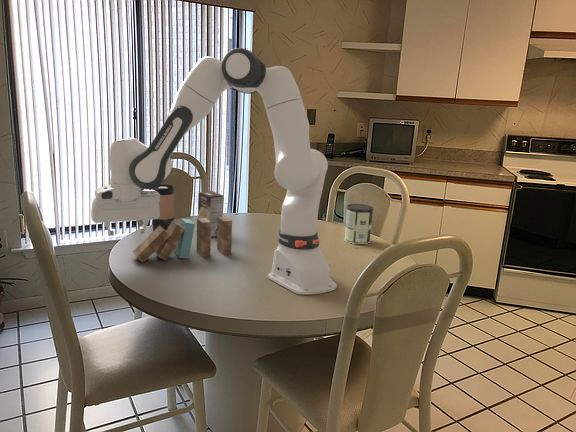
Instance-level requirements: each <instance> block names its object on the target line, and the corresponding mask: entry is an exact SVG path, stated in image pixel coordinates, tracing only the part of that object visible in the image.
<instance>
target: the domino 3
mask: <svg viewBox="0 0 576 432" xmlns="http://www.w3.org/2000/svg"><path fill="white" fill-rule="evenodd" d="M211 239H212V237H211V222H210V221H209V220H208V219H206V218H198V217H197V218H196V253H197V254H198V255H199V256H200V257H201V258H205V257H211V247H212V246H211V243H212V242H211Z"/></svg>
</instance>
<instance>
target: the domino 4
mask: <svg viewBox="0 0 576 432" xmlns="http://www.w3.org/2000/svg"><path fill="white" fill-rule="evenodd" d="M232 232H233V220H232V219H230V218H229V217H228V216H224V215H223V217H218V235H217V236H216V237H217V239H216V240H217V243H216V244H217V246H216V249H217V251H218V252H219V253H220V254H222V256H224V255H225V256H226V255H232V239H233V238H232V237H233V233H232Z"/></svg>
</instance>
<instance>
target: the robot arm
mask: <svg viewBox="0 0 576 432" xmlns="http://www.w3.org/2000/svg"><path fill="white" fill-rule="evenodd" d="M228 89H230V90H233V91H236V92H239V93H242V94H254V93H255V94H256V93H258V94H259V95H260V96H261V99H262V102H263V105H264V109H265V112H266V115H267V119H268V122H269V126H270V129H271V132H272V137H273V143H274V144H273V146H274V154H275V155H274V156H275V166H274V169H273V170H274V178H275V181H276V182H277V184H278V185H279V186H280V187H282V188H283V189H285V190H286V194H285V197H284V200H283V202H282V204H281V213H280V214H281V215H280V229H279V230H278V234H277V235H278V236H277V237H278V239H277V240H278V245H277V248H276V249H275V250H274V251H273V252H274V253H273V259H272V265H271V266H272V267H271V272H269V273H268V274H267V279H269V280H271V281H272V282H275V283H276V284H278V285H280V286H281V287H284V288H285V289H288V290H289V291H291V292H292V293H294V294H296V295H297V294H298V295H319V294H325V293H328V292H332V291H334V290H336V289H338V285H337V283H336V282H335V281H334V280H333V279H332V278H331V277H330V276H331V274H330V273H331V271H330V268H331V264H330V261H329V260H326V259H325V256H324V254H323V253H322V251H321V249H320V243H321V242H320V241H321V239H320V238H319V235H318V231H317V229H318V217H319V208H320V201H321V198H322V193H323V188H324V185H325V184H324V183H325V178H326V173H327V171H328V167H329V164H328V160H327V157H326V156H325V154H323V152H321V151H319V150H317V149H314V148H311V142H310V122H309V119H308V115H307V112H306V108H305V105H304V102H303V97H302V95H301V91H300V88H299V87H298V84H297V82H296V79H295V77H294V75H293V74H292V72H291V70H290V69H289V68H288V67H286V66H283V65H276V66H271V67H268V66H266V65H265V63H264V62H263V61H262V60H261V59H260V58H259V57H258V56H257V55H256V54H255V53H254V52H252V51H251V50H249V49H247V48H243V47H237V48H232V49H230V50H229V51H228V52H227V53H226V54H225V55H224V56H223V58H222V61H221V60H219V59H218V58H216V57H212V56H203V57H202V58H200V59H199V61H197V62H196V63H195V65H194V66H193V67H192V69H191V70H190V71H189V72H188V74H187V75H186V77H185V78H184V80H183V82H182V83H181V85H180V87H179V88H178V90H177V93H176V94H175V97H174V99H173V102H172V105H171V107H170V108H169V109H170V110H169V111H168V115H167V116H166V119H165V121H164V123H163V124H162V126H161V128H160V129H159V130H158V132H157V134H156V135H155V137H154V139H153V140H152V141H151V143H150V144H149V146H148V145H146V144H145V143H143V142H141V141H140V140H139V139H138V138H136V137H125V138H121V139H116V140H115V141H113V142H112V143H111V144H110V150H109V170H110V173H111V174H110V176H111V177H110V180H109V184H108V185H105V186H101V187H98V188H96V189H95V190H94V197H95V198H93V200H92V203H91V210H90V211H91V212H90V213H91V215H90V216H91V220H92V222H93V223H95V224H99V223H103V225H104V227H105V228H106V230H107V235H108V237H111V236H114V235H115V232H114V231H115V230H114V229H113V228H111V227H110V224H111V223H114V222H117V223H118V222H131V221H132V222H133V221H142V222H143V224H142V226H139V228H138V229H139V234H146V228H147V226H148V225H149V220H153V219H158V218H159V217H160V209H159V202H160V194H159V193H158V192H157V191H155V190H152V189H154V188H156V187H158V186H159V185H162V183H163V182H164V180H166V178H168V176H169V175H170V174H171V172H172V171H173V170H172V169H173V162H172V159H171V156H172V154H173V153H174V151H175V150H176V148H177V147H178V145H179V143H180V142H181V140H182V139H183V137H184V136H185V135H186V134H187V133H188V132H189V131H190V130H192V129H193V128H194V127H196V126H197V125H198V124H199V123H202V121H203V120H204V119H205V118H206V117H207V116H208V115H209V114H210V112H211V111H212V109H213V108H214V106H215V105H216V103H217V101H218V100H219V99H220V97H221V95H222V94H223V93H224V92H225V91H226V90H228ZM142 189H143V190H142ZM155 192H156V193H155Z"/></svg>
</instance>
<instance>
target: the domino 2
mask: <svg viewBox="0 0 576 432" xmlns="http://www.w3.org/2000/svg"><path fill="white" fill-rule="evenodd" d="M179 224H181V225H182V226H183V227H184V228H185V229H184V231H183V233H182V235H181V236H180V238H179V240H178V241H177V243H176V245H175V251H174V252H175V254H176V255H177V257H178V258H179V259H189V258H190V254H191V247H192V242H193V236H194V230H195V225H196V223H194V221H192V219H190V218H180V222H179Z"/></svg>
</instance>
